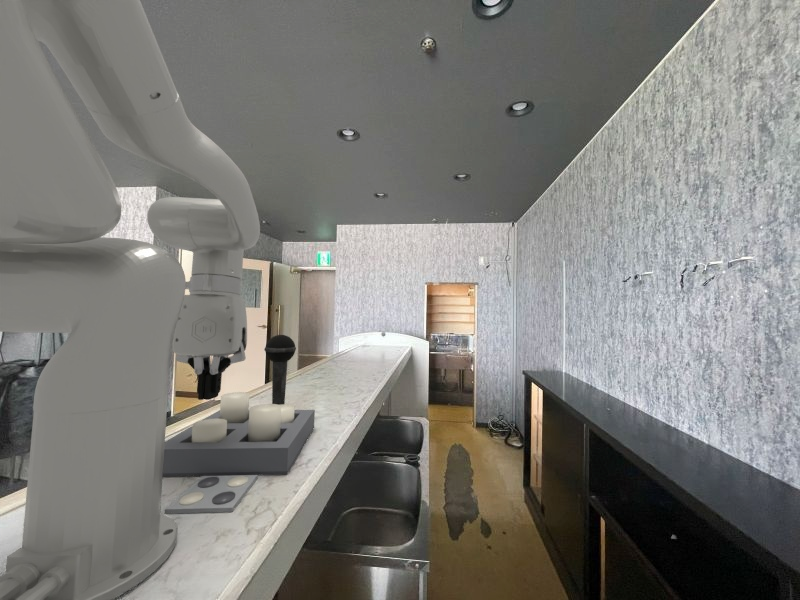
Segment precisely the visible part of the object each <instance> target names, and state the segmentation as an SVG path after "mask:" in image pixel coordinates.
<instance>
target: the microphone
mask: <svg viewBox="0 0 800 600" xmlns="http://www.w3.org/2000/svg"><path fill="white" fill-rule="evenodd" d="M296 350H297V347H296V345H295V342H294V340H293V339H292V338H291V337H290V336H288V335H285V334H277V335H274V336H272V337H270V339H269V340H268V341H267V342H266V344H265V347H264V352H265V355H266V358H267V359H269V360H270V361H271V362H272V364H271V365H272V366H271V367H272V368H271V369H272V370H271V371H272V372H271V373H272V374H271V375H272V376H271V377H272V378H271V379H272V381H271V382H272V383H271V384H272V385H271V386H272V387H271V390H272V391H271V395H272V397H271V401H272V402H271V404H278V405H281V404H285V403H286V402H285V400H286V388H287V387H286V386H287V376H288V375H287V374H288V362H289V361H290V360H291V359H292V358H293V357H294V355H295V352H296Z"/></svg>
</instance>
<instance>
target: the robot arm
mask: <svg viewBox="0 0 800 600" xmlns="http://www.w3.org/2000/svg"><path fill="white" fill-rule="evenodd" d="M39 42H42V43H43V44H44V45H45V46H46V47H47V49H48V50H49V52H50V53H51V54H52V56H53V57H54V59H55V60H56V62H57V64H58V65H59V66H60V68H61V69H62V71H63V73H64V74H65V76H66V77H67V79H68V80H69V82H70V83H71V85H72V87H73V89H74V90H75V92H76V93H77V94H78V96H79V98H80V99H81V100H82V102H83V104H84V106H85V107H86V109H87V111H88V112H89V114H90V115H91V116H92V118H93V120H94V121H95V123H96V125H97V126H98V128H99V129H100V131H101V133H102V134H103V136H105V137H106V138H107V139H108V140H109V141H110V142H111V143H113V144H115V146H118V147H120V148H121V149H123V150H125V151H128V152H129V153H130V154H131V153H132V154H134V155H136V156H138V157H140V158H142V159H144V160H146V161H149V162H151V163H153V164H156V165H158V166H161V167H163V168H166V169H169V170H171V171H173V172H176V173H177V174H179V175H182V176H184V177H187V178H188V179H190V180H192V181H194V182H195V183H197V184H199V185H201V186H202V187H203V188H205V189H207V191H209V192H210V193H212V195H214V196H215V197H216V198H200V197H185V196H184V197H182V196H181V197H180V196H169V197H162V198H158V199H157V200H155V201H154V202H153V203H152V204H151V205H150V206H149V207H148V210H147V216H146V218H147V219H146V220H147V224H148V227H149V229H150V231H151V232H152V234H153V235H154V236H155V238H156V239H158V240H159V241H160V242H161V243H163V244H165V245H167V246H169V247H172V248H173V249H179V250H183V251H188V252H192V263H191V272H190V273H191V275H190V278H189V280H188V281H186V275H185V272H184V269H183V266H182V265H181V262H180V261H178V259H177V257H175V256H174V255H173V254H172V253H171V252H169V251H168V250H166V249H165V248H163V247H161V246H158V245H155V244H152V243H151V242H147V241H142V240H137V239H130V238H129V239H128V238H120V237H104V236H105V235H107V234H109V233H110V232H112V231H113V230H114V229H115V228H116V227H117V225H118V224H119V222H120V220H121V217H122V202H121V197H120V195H119V192H118V189H117V187H116V184H115V182H114V180H113V177H112V176H111V174H110V172H109V170H108V167H107V166H106V164H105V162H104V161H103V159H102V157H101V155H100V153H99V152H98V150H97V148H96V146H95V144H94V142H93V141H92V139H91V138H90V136H89V134H88V131H87V130H86V129H85V126H84V125H83V123H82V121H81V120H80V118H79V116H78V114H77V113H76V110H75V109H74V107H73V105H72V104H71V102H70V100H69V98H68V96H67V94H66V93H65V91H64V89H63V87H62V85H61V83H60V82H59V80H58V78H57V76H56V75H55V72H54V71H53V69H52V67H51V65H50V63H49V61H48V59H47V57H46V55H45V53H44V52H43V49H42V48H41V45H40V43H39ZM246 178H247V177H245V174H244V173H243V172H242V170H241V168H239V166H238V165H237V164H236V162H234V161H233V160H232V158H231V157H230V156H229V155H228V154H226V152H225V151H224V150H223V149H222V148H221V147H220V146H219V145H218V144H217V143H215V142H214V141H213V140H212V138H210V137H208V136H207V135H206V134H205V133H203V132H202V131H201V130H200V129H198V128H197V127H196V126H195V125H194V124H193V122H191V120H190V119H189V118H188V116H187V114H186V111H185V108H184V105H183V103H182V101H181V97H180V95H179V93H178V91H177V88H176V86H175V84H174V81H173V79H172V75H171V73H170V71H169V68H168V66H167V63H166V61H165V59H164V57H163V53H162V51H161V48H160V46H159V44H158V42H157V39H156V36H155V33H154V32H153V29H152V27H151V24H150V21H149V20H148V17H147V14H146V12H145V9H144V7H143V5H142V2H141V0H0V332H3V333H21V334H23V333H26V334H27V333H30V334H31V333H32V334H34V333H36V334H43V333H45V334H46V333H47V334H48V333H49V334H69V335H68V336H67V338H66V339H65V341H64V342H63V343H62V344H61V346H60V347H59V348H58V349H57V350H56V352H54V354H53V355H52V357H51V358H50V359H49V360H48V362H46V364H45V366H44V368H43V369H42V371H41V372H40V374H39V377H38V379H37V383H36V385H35V389H34V393H33V396H34V397H33V404H32V405H33V407H32V410H33V414H32V426H31V427H32V428H31V436H30V437H31V438H30V449H29V460H28V470H27V471H28V472H27V474H28V475H27V484H26V494H25V497H26V498H25V506H24V507H25V508H24V517H23V528H22V529H23V531H22V543H21V547H20V548H18V549H16V550H15V551H14V552H12V553H10V554H9V555H7V556H6V566H5V572H4V574H2V575H0V600H115V599H116V598H118V597H120V596H121V595H123V594H124V593H126V592H129V590H132V589H133V588H135V587H136V586H137V585H138V584H140V583H141V582H143V581H145V579H146V578H148V577H149V576H151V574H153V572H155V571H156V570H157V569H158V568H159V567H160V566H161V565H162V564H163V563H164V562H166V560H167V559H168V557H169V556H170V555H171V553H172V552H173V550H174V549H175V546H176V543H177V540H178V526H177V523H176V522H175V520H174V519H173V518H172V517H170V516H168V515H165V514H161V508H162V507H161V505H162V494H163V493H162V491H163V479H164V477H163V463H164V447H165V441H166V431H167V429H166V428H167V412H168V393H169V378H170V377H169V375H170V366H171V365H170V364H171V356H172V352H173V353H174V354H176V356H175V361H177V362H179V363H183V364H188V365H189V366H190V367H191V368H192V369H193V370H194V373H195V375H197V383H196V385H197V386H196V394H197V395H198V396H197V399H198V400H199V401H203V400H206V401H209V400H212V399H215V398H217V397H218V396H219V394H220V392H221V390H222V376H223V375H222V374H223V373H224V372H225V371H226V370H227V368H229V367H230V366H231V365H232V364H236V363H242V362H244V361H245V360H246V353H245V351H246V350H247V344H248V320H247V318H248V317H247V309H246V303H245V298H244V297H242V296H241V294H242V280H243V279H242V277H243V267H244V266H243V264H244V251H246V250H250V249H251V248H253V247H255V245H256V244H258V241H259V239H260V235H261V234H260V233H261V225H260V224H261V223H260V218H259V213H258V210H257V207H256V203H255V200H254V196H253V193H252V190H251V187H250V183H249V182H248V180H247V179H246ZM186 290H188V292H189V294H186ZM230 355H232V356H230ZM211 357H212V359H211Z"/></svg>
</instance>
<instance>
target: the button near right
mask: <svg viewBox="0 0 800 600" xmlns="http://www.w3.org/2000/svg"><path fill="white" fill-rule="evenodd" d="M280 424H281V406H280V405H278V404H272V403H265V404H263V403H262V404H258V405H253V406H252V407H249V428H248V441H249V442H272V441H275V440H277V439H278V438H279V437H280Z"/></svg>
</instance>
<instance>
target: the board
mask: <svg viewBox="0 0 800 600" xmlns="http://www.w3.org/2000/svg"><path fill="white" fill-rule="evenodd" d="M208 419H220V409H219V410H217V411H215V412H214V413H212V414H210V415H209V416H207V417H205V418H204V419H202V420H201V421H203V420H208ZM248 428H249V415H248V420H247V421H246V422H244V423H227V434H226V437H225V438H224V439H222V440H221V441H220V442H194V443H191V441H192V425H191V426H190V427H188V428H186V429H184V430H182V431H181V432H179V433H178V434H175V436H172V437H171V438H169V439H167V440H165V447H164V463H163V478H173V477H174V478H176V477H177V478H179V477H180V478H181V477H184V478H185V477H201V476H232V475H258V476H278V475H280V476H284V475H285V476H286V475H288V474H289V473H290V471H291V469H292V467H293V465H294V463H295V462H296V460H297V459H298V457H299V456H300V453H301V452H302V450H303V448H304V447H305V445H306V443H307V442H308V440H309V438H310V437H311V435H312V433H313V431H314V430H313V428H314V429H315V409H295V410H294V421H293V423H281V424H280V437H279V438H278V439H277V440H275V441H272V442H249V441H248ZM312 430H313V431H312ZM311 432H312V433H311ZM310 434H311V435H310ZM307 439H308V440H307ZM304 444H305V445H304ZM303 446H304V447H303Z"/></svg>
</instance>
